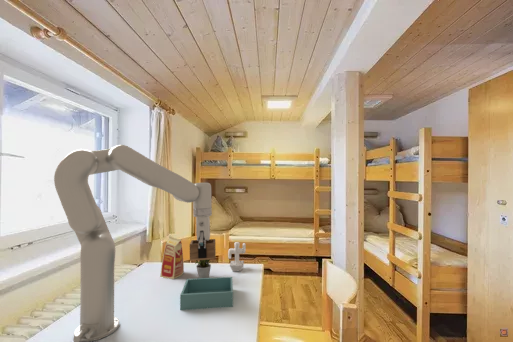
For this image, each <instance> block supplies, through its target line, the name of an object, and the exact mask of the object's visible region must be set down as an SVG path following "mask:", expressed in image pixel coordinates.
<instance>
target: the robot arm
mask: <svg viewBox="0 0 513 342" xmlns="http://www.w3.org/2000/svg"><path fill="white" fill-rule="evenodd" d="M114 171H122V172H123V173H125V174H127V175H129V176H131V177H133V178H135V179H136V180H138V181H141V182H142V183H144V184H146V185H148V186H150V187H154V188H156V189H160V190H162V191H164V192H167V193H168V194H170V195H172V196H173V198H174V199H175V200H176V201H179V202H184V203H187V204H188V203H192V210H193V212H192V215H193V217H194V218H195V225H196V226H195V227H196V228H195V230H196V232H195V234H196V240H197V241H199V248H198V258H206V257H207V256H206V240H207V241H209V239H211V221H210V220H211V219H210V217H212V211H213V208H212V185H211V183H209V182H196V183H193V182H192V181H190V180H188V179H187V178H185V177H183V176H182V175H180V174H178V173H175V172H174V171H172V170H169V169H168V168H166V167H165V166H163V165H161V164H159V163H157V162H155V161H154V160H152V159H150V158H148V157H146V156H145V155H144V154H141V153H140V152H139V151H137V150H135V149H133V148H132V147H130V146H127V145H125V144H117V145H115V146H112V147H111V148H107V149H106V148H105V149H99V150H89V149H85V148H83V149H82V148H79V149H76V150H73V151H71V152H69V153H68V154H67V155H66V156H64V157H63V159H62V160H60V162H59V163H58V165H57V166H56V169H55V171H54V176H53V181H54V183H53V184H54V187H55V190H56V191H55V192H56V193H57V196H58V198H59V200H60V204H61V206H62V209H63V210H64V214H65V216H66V218H67V222H68V225H69V227H70V228H71V230H72V231H74V233H75V235H76V237H77V240H78V242H79V244H80V256H79V257H80V303H79V305H80V306H79V307H80V311H79V313H80V314H79V315H80V316H79V317H80V318H79V321H80V322H79V326H78V327H76V329H75V330H74V333H73V342H94V341H99V340H100V339H103V338H105V337H107V336H110V335H111V334H113V333H114V332H115V331H116V330H118V328H119V327H120V320H119V317H116V316H115V263H116V245H115V241H114V239H113V237H112V234H111V232H110V230H109V228H108V227H109V226H108V225H107V223H106V220H105V217H104V215H103V213H102V210H101V208H100V207H99V206H98V205H97V203H96V200H95V198H94V196H93V191H92V190H91V188H90V184H89V177H90V176H91V175H97V174H103V173H108V172H114ZM203 242H204V243H203Z"/></svg>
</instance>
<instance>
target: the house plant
mask: <svg viewBox="0 0 513 342" xmlns="http://www.w3.org/2000/svg"><path fill="white" fill-rule="evenodd" d="M211 262H212V263H213V262H214V260H211V259H210V260H195V261H194V265H196V272H197V278H210V273H211V268H212V265H211Z"/></svg>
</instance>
